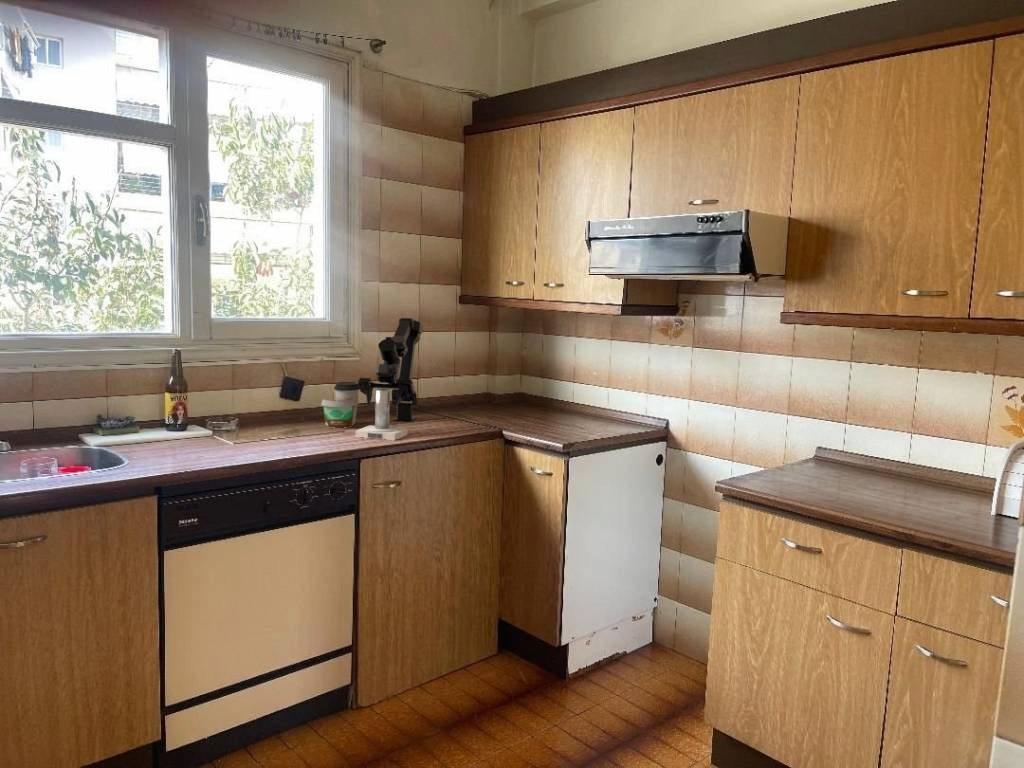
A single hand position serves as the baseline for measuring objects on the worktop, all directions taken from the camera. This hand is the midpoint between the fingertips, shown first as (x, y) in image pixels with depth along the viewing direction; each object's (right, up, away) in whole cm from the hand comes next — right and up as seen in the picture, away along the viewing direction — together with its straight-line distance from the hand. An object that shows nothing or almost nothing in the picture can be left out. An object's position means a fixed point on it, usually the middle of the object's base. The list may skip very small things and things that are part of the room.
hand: (381, 405), depth 252 cm
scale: (0, -10, +2) cm, 10 cm away
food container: (-18, -8, +15) cm, 24 cm away
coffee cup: (-17, -8, +23) cm, 29 cm away
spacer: (0, -8, +2) cm, 8 cm away
